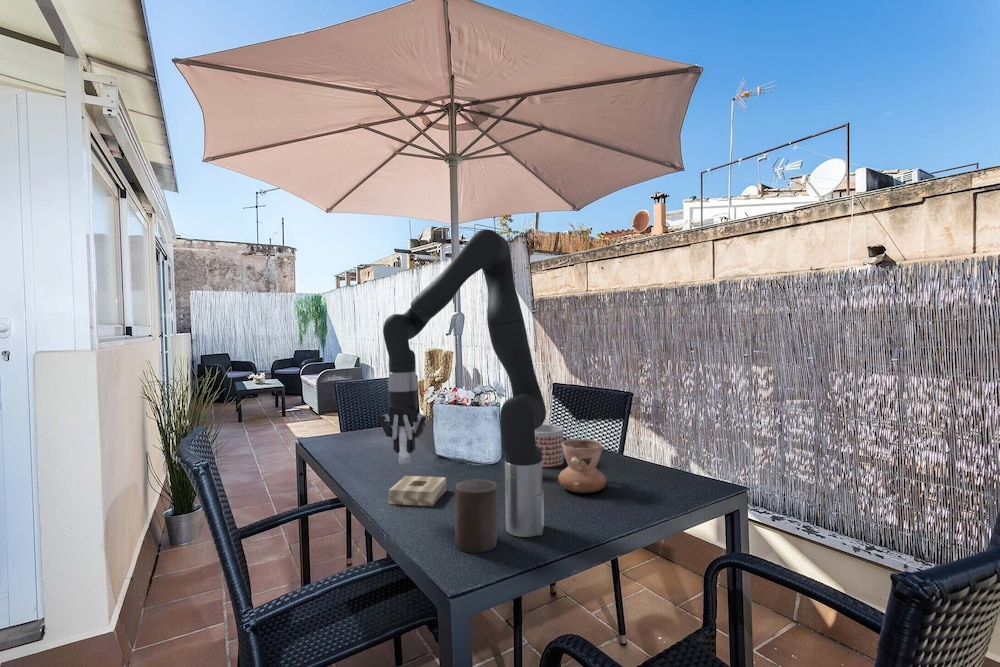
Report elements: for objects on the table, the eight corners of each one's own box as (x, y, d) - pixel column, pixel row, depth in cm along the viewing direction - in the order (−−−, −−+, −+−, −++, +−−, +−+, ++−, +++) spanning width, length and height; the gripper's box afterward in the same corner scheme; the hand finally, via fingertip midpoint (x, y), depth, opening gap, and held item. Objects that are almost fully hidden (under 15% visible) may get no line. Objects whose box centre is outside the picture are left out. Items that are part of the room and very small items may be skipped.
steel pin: (412, 460, 130) (411, 423, 130) (407, 463, 127) (407, 426, 127) (401, 460, 131) (400, 423, 131) (397, 463, 128) (396, 426, 128)
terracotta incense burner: (598, 502, 136) (598, 452, 136) (550, 494, 142) (550, 446, 142) (613, 483, 152) (613, 439, 152) (569, 477, 159) (569, 434, 158)
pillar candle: (469, 557, 105) (469, 489, 104) (447, 541, 112) (447, 478, 112) (505, 545, 110) (505, 481, 110) (482, 531, 118) (482, 470, 118)
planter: (533, 469, 167) (532, 433, 167) (521, 459, 180) (520, 425, 180) (569, 466, 171) (569, 430, 170) (555, 456, 184) (554, 423, 184)
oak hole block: (445, 490, 147) (445, 477, 147) (432, 506, 135) (432, 492, 135) (405, 488, 150) (405, 475, 150) (389, 503, 137) (388, 489, 137)
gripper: (432, 386, 131) (433, 449, 131) (384, 386, 134) (385, 448, 134) (423, 390, 124) (424, 457, 124) (372, 390, 126) (373, 455, 126)
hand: (404, 452), depth 129 cm, fingers closed on steel pin, 3 cm apart
